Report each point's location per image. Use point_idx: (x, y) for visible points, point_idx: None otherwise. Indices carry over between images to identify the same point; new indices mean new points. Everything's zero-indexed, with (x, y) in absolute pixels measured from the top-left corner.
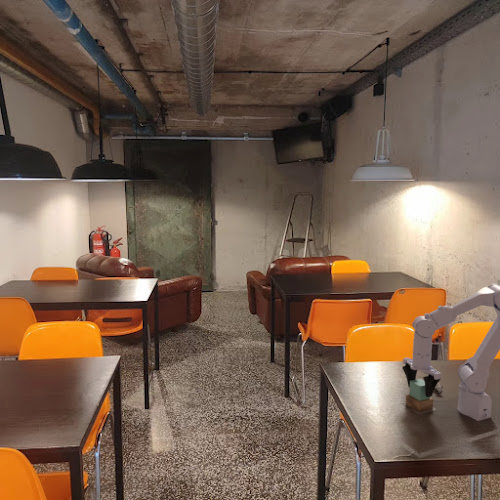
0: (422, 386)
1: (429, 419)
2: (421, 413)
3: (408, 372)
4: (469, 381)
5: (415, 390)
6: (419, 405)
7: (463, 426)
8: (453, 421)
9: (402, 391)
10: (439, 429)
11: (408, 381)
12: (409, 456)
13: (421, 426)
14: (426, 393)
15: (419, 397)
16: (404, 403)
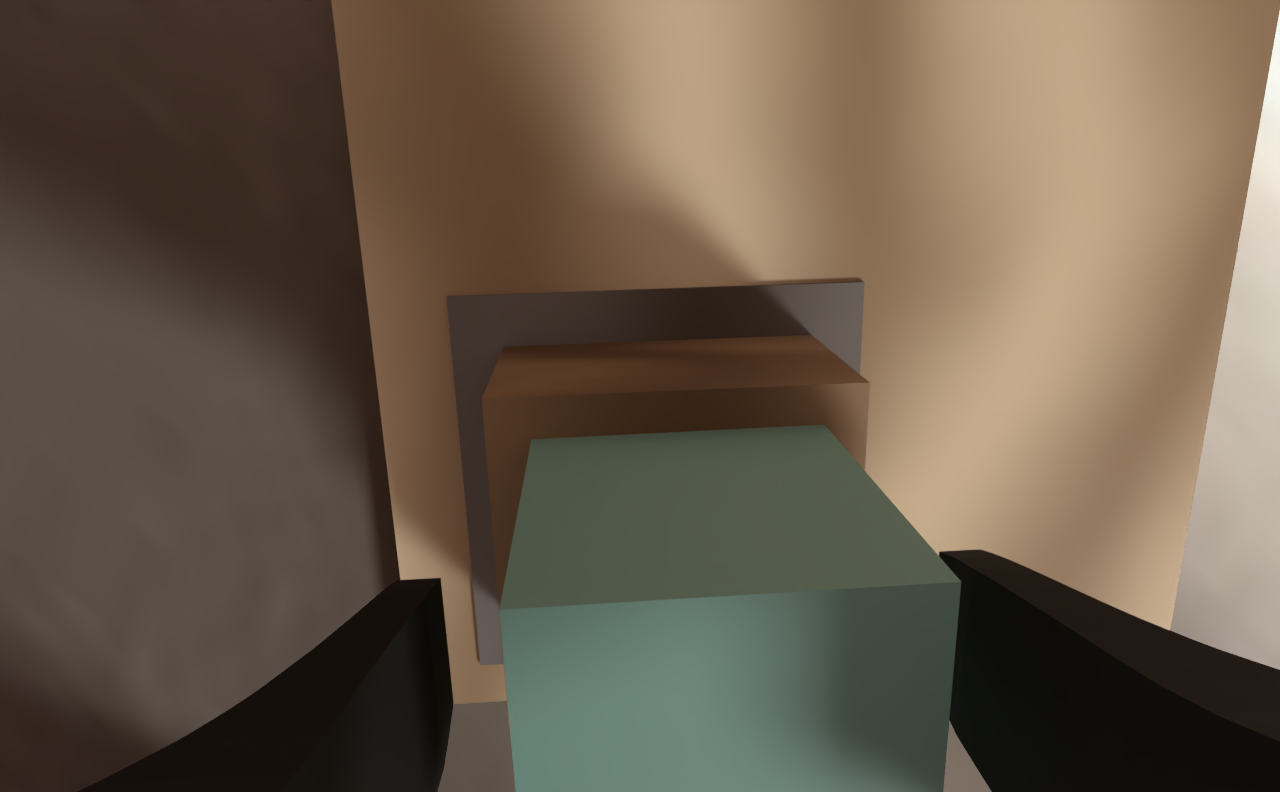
0: (511, 681)
1: (339, 389)
2: (455, 353)
3: (1268, 789)
4: None
5: (675, 502)
6: (490, 378)
7: (38, 684)
8: (193, 660)
9: (1179, 618)
10: (30, 310)
11: (1047, 601)
12: None
13: (180, 99)
14: (375, 609)
15: (538, 466)
16: (838, 331)
